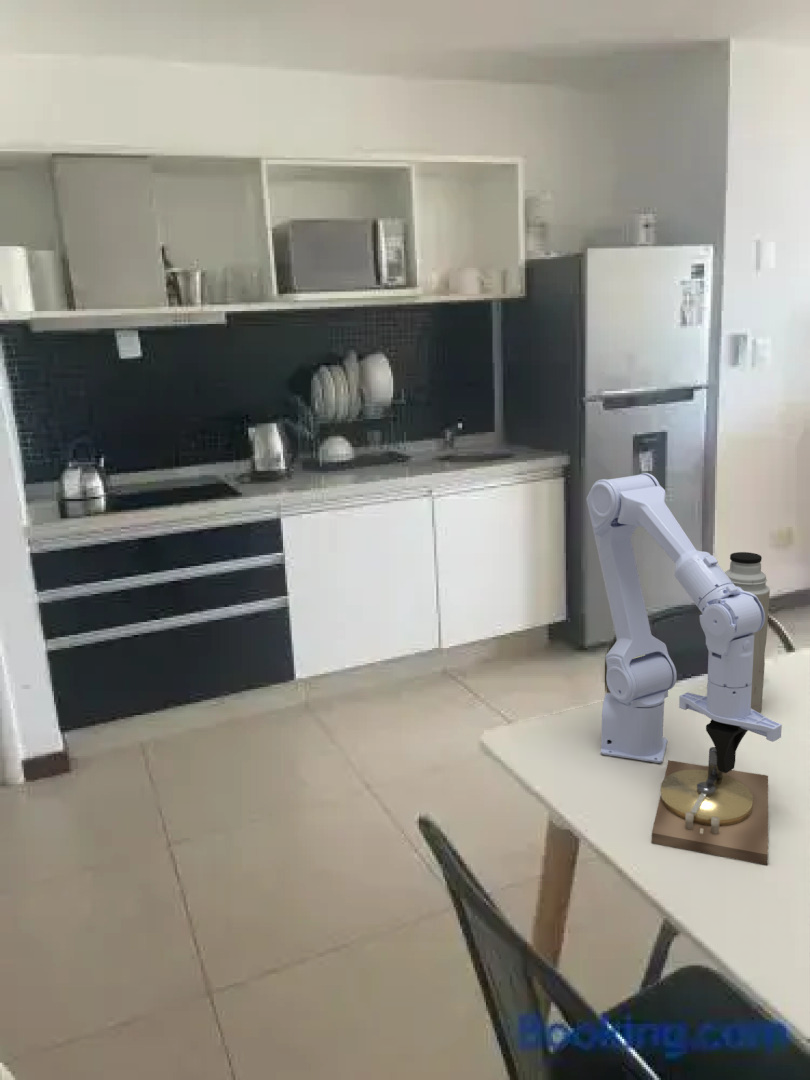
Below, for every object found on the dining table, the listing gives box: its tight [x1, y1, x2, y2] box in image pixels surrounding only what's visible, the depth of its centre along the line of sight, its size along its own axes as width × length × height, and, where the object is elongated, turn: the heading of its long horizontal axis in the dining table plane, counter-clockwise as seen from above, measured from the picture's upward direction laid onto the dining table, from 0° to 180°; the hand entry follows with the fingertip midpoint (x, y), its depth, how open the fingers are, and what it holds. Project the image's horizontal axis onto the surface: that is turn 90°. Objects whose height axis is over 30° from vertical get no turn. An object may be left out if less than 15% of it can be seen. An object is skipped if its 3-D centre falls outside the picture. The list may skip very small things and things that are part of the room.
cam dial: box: [660, 746, 753, 826], centre depth 116 cm, size 12×12×5 cm
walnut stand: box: [651, 760, 769, 866], centre depth 116 cm, size 14×20×4 cm
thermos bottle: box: [724, 551, 771, 714], centre depth 143 cm, size 8×8×28 cm
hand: (725, 769), depth 118 cm, fingers closed
